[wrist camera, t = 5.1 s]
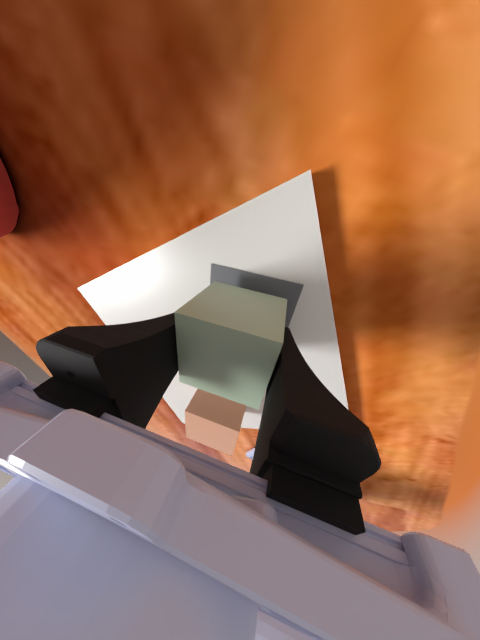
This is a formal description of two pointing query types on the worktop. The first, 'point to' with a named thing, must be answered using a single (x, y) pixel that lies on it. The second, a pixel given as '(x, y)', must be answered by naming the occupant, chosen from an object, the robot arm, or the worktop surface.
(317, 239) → the baseplate
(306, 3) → the worktop surface
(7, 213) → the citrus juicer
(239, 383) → the green brick
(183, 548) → the robot arm
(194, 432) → the terracotta brick
